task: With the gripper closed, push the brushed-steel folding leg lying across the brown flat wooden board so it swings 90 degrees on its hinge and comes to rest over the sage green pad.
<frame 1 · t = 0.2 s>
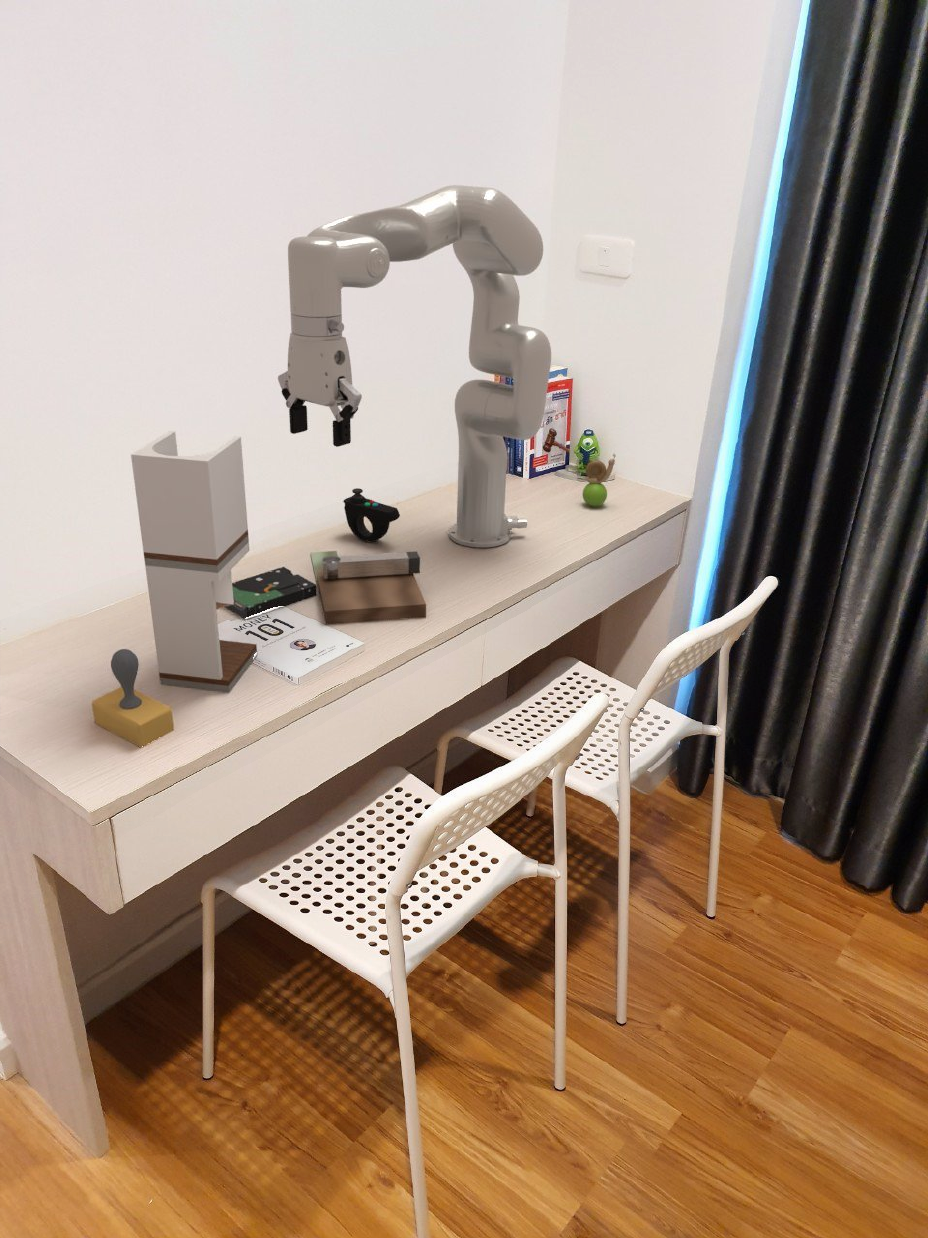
hand: (320, 438, 153), 30 cm above the table, tool pointing down, fingers open, 9 cm apart
brown flat wooden board: (369, 600, 171), on the table
controller: (371, 541, 195), on the table
rubber stamp: (134, 728, 134), on the table
snail figurine: (595, 506, 217), on the table
disk drive: (266, 601, 171), on the table
folding leg: (371, 565, 173), point 5 cm above the table, hinge at 0.0°
gray dispenser tower: (210, 670, 148), on the table
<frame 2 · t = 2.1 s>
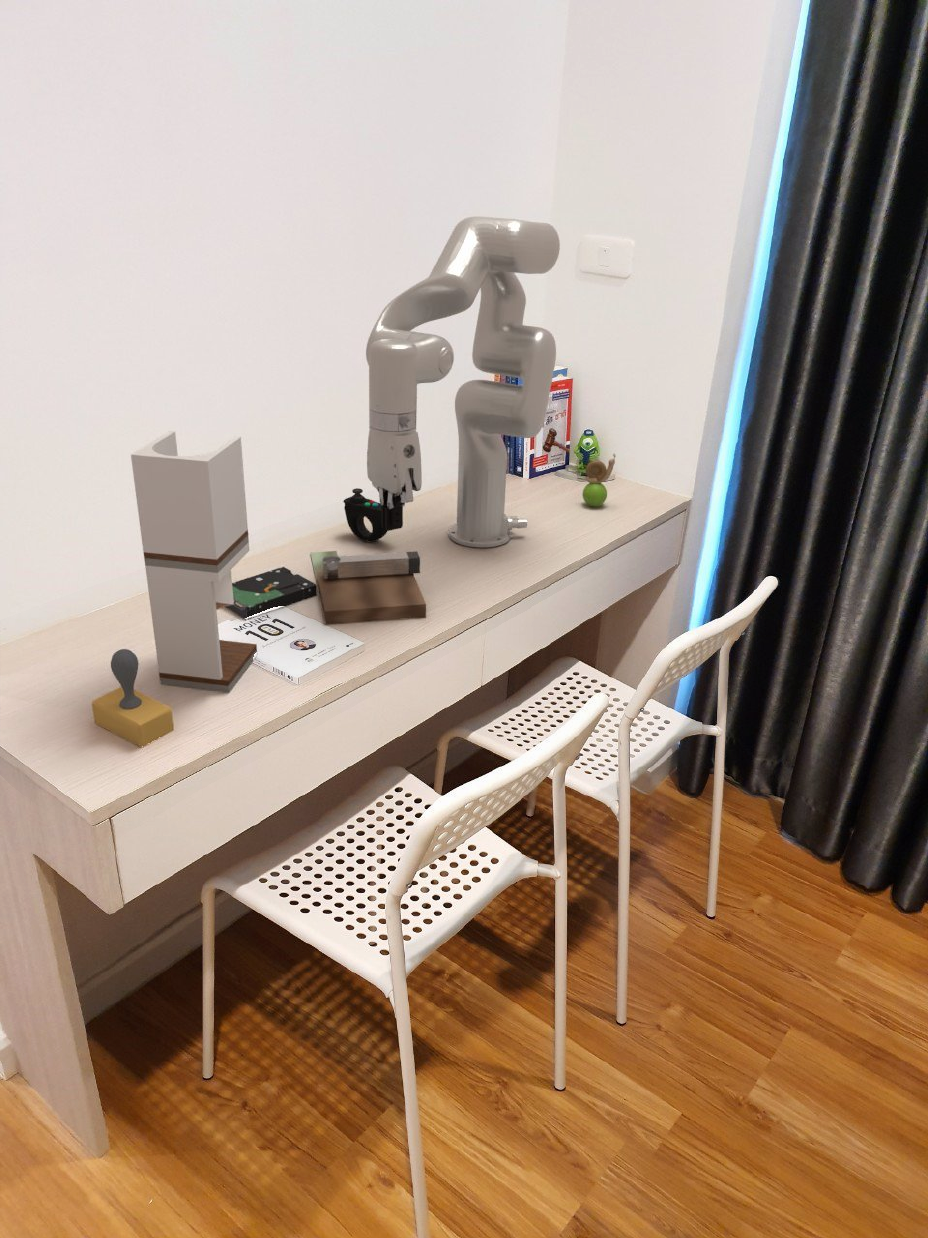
hand: (392, 527, 163), 14 cm above the table, tool pointing down, fingers closed
nothing on the table moved.
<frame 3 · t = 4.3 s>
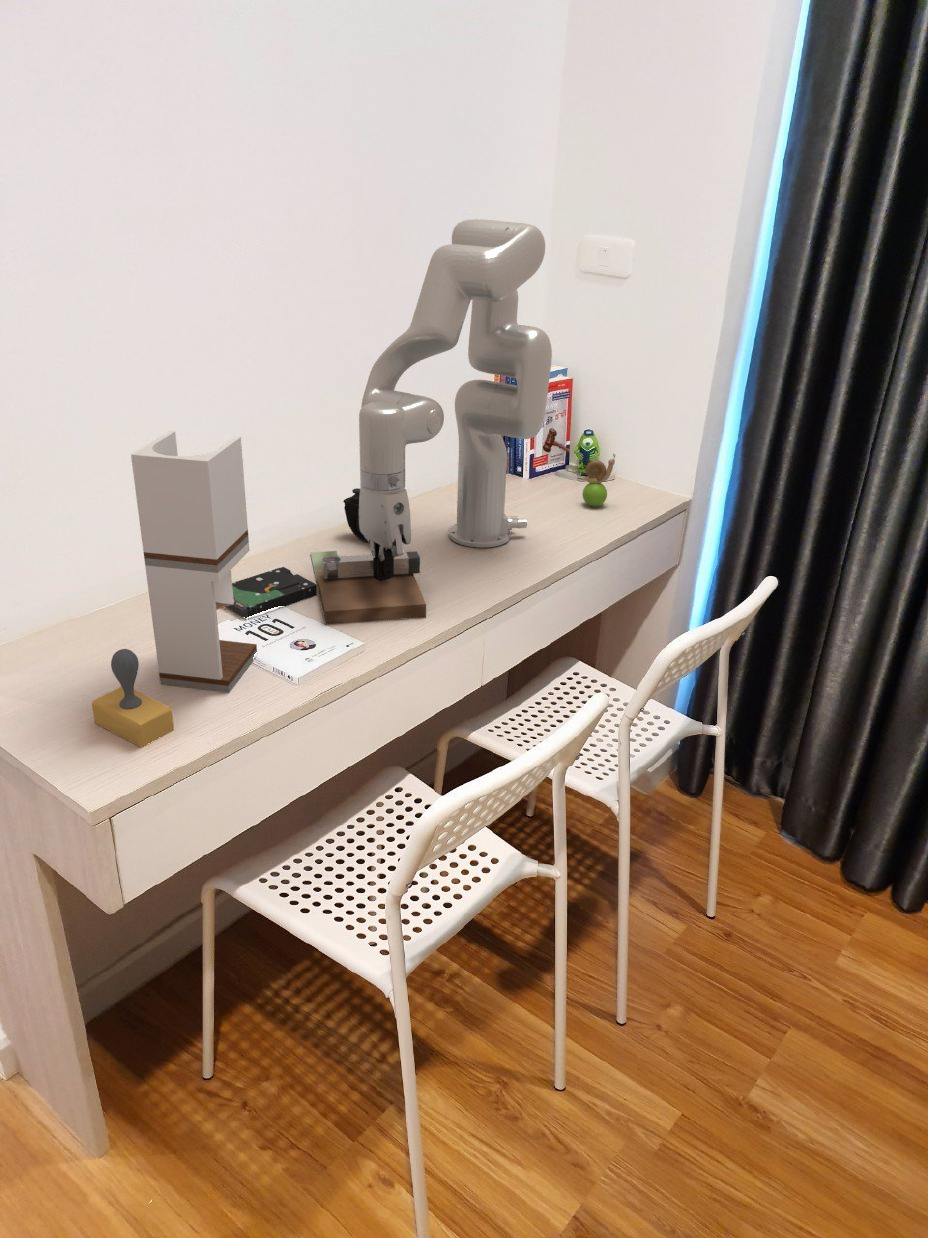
hand: (383, 577, 171), 3 cm above the table, tool pointing down, fingers closed
folding leg: (371, 565, 173), point 5 cm above the table, hinge at 0.0°, touching gripper
everything else where it was.
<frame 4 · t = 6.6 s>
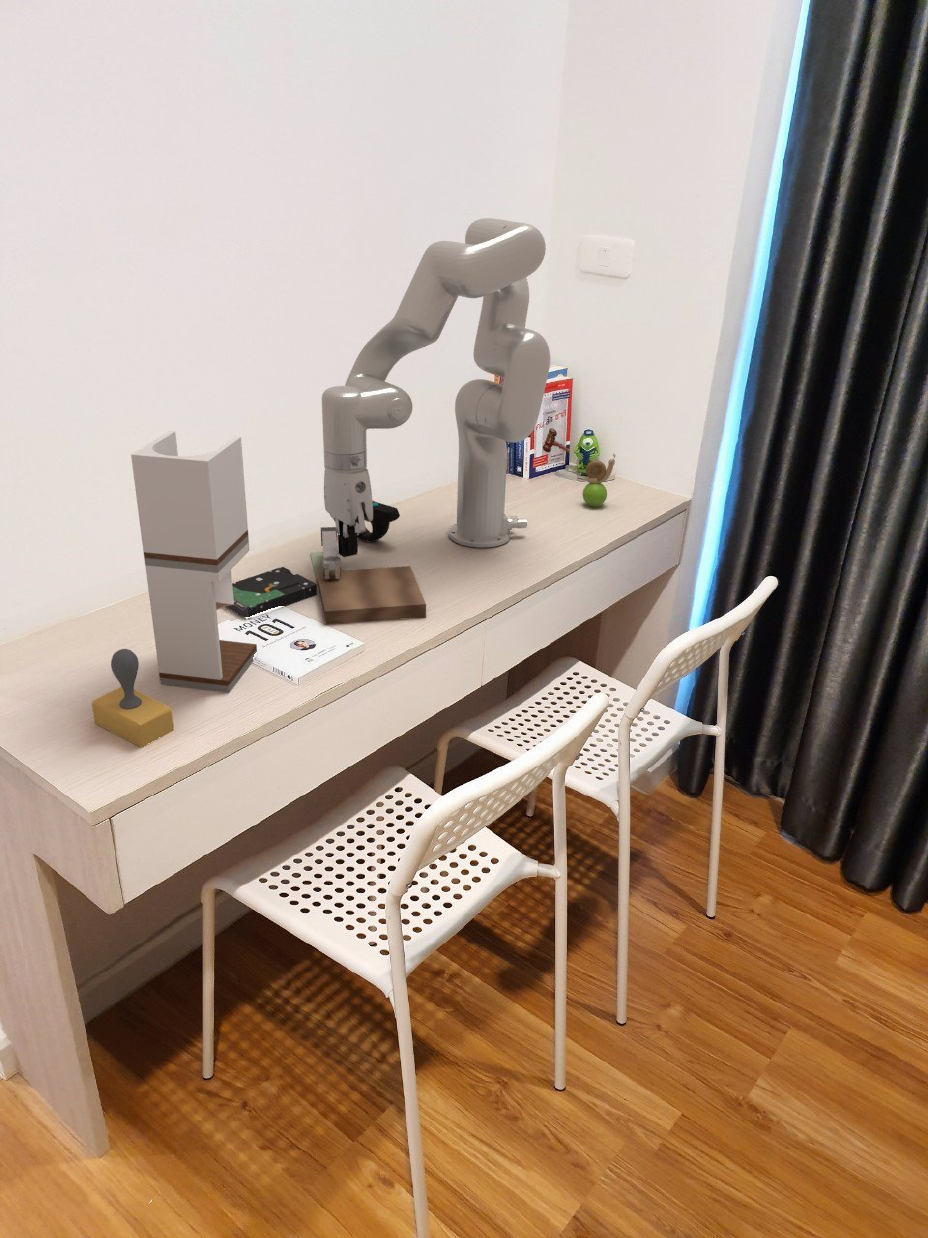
hand: (348, 554, 180), 3 cm above the table, tool pointing down, fingers closed
folding leg: (330, 552, 178), point 5 cm above the table, hinge at 86.4°, touching gripper
everything else where it was.
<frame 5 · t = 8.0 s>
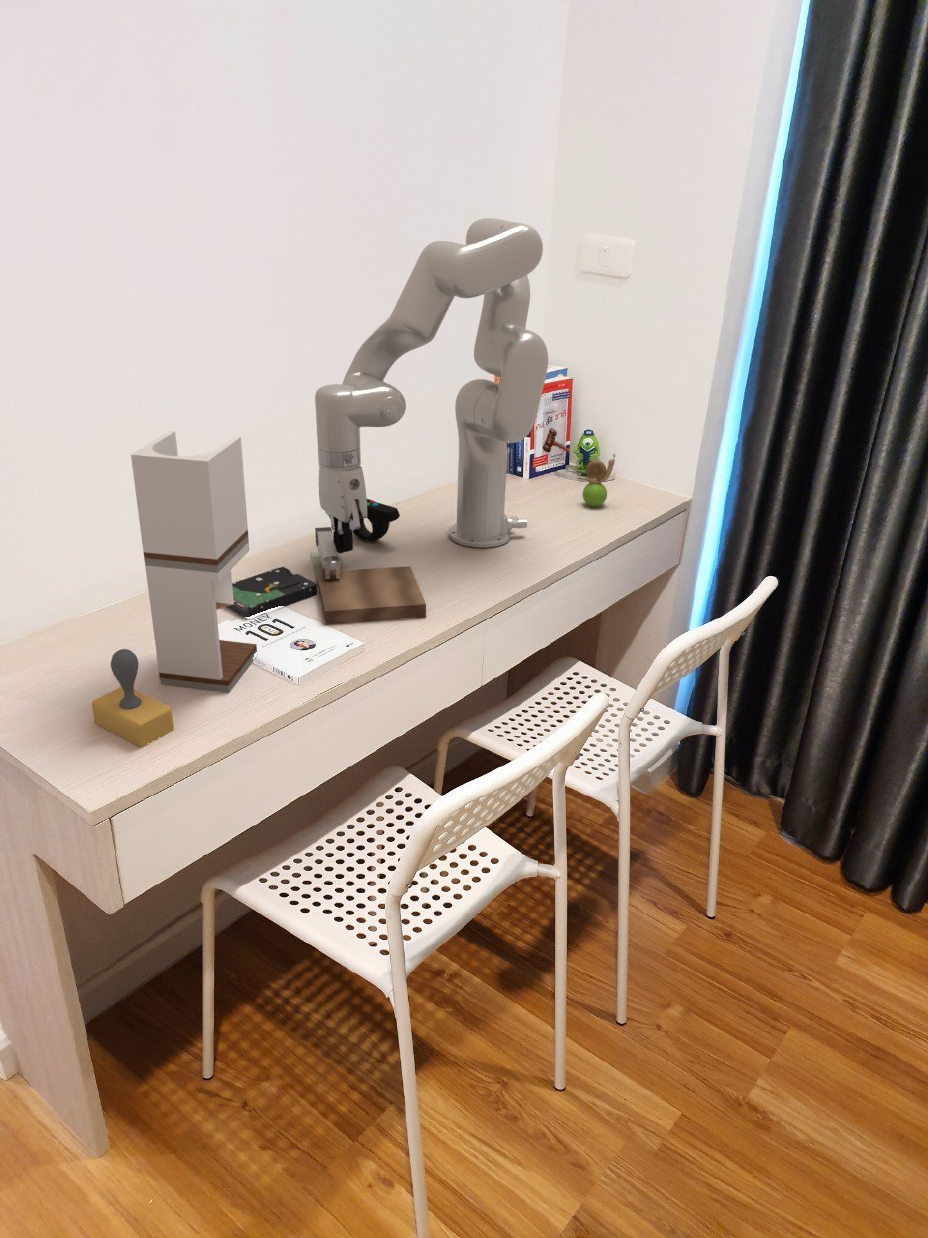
hand: (343, 550, 182), 3 cm above the table, tool pointing down, fingers closed
folding leg: (327, 552, 178), point 5 cm above the table, hinge at 90.2°, touching gripper
everything else where it was.
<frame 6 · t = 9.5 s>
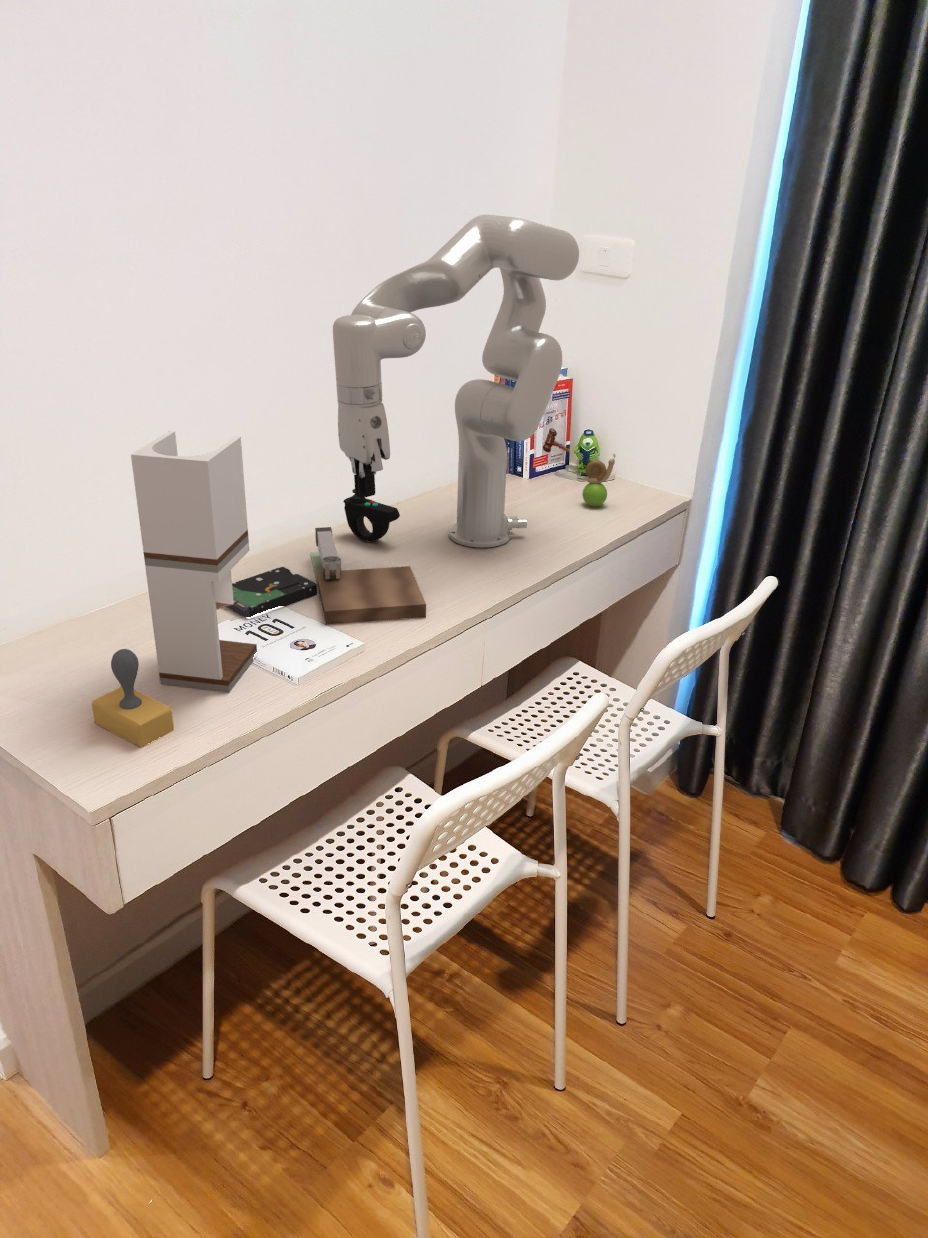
hand: (365, 495, 172), 16 cm above the table, tool pointing down, fingers closed
folding leg: (327, 552, 178), point 5 cm above the table, hinge at 90.2°
everything else where it was.
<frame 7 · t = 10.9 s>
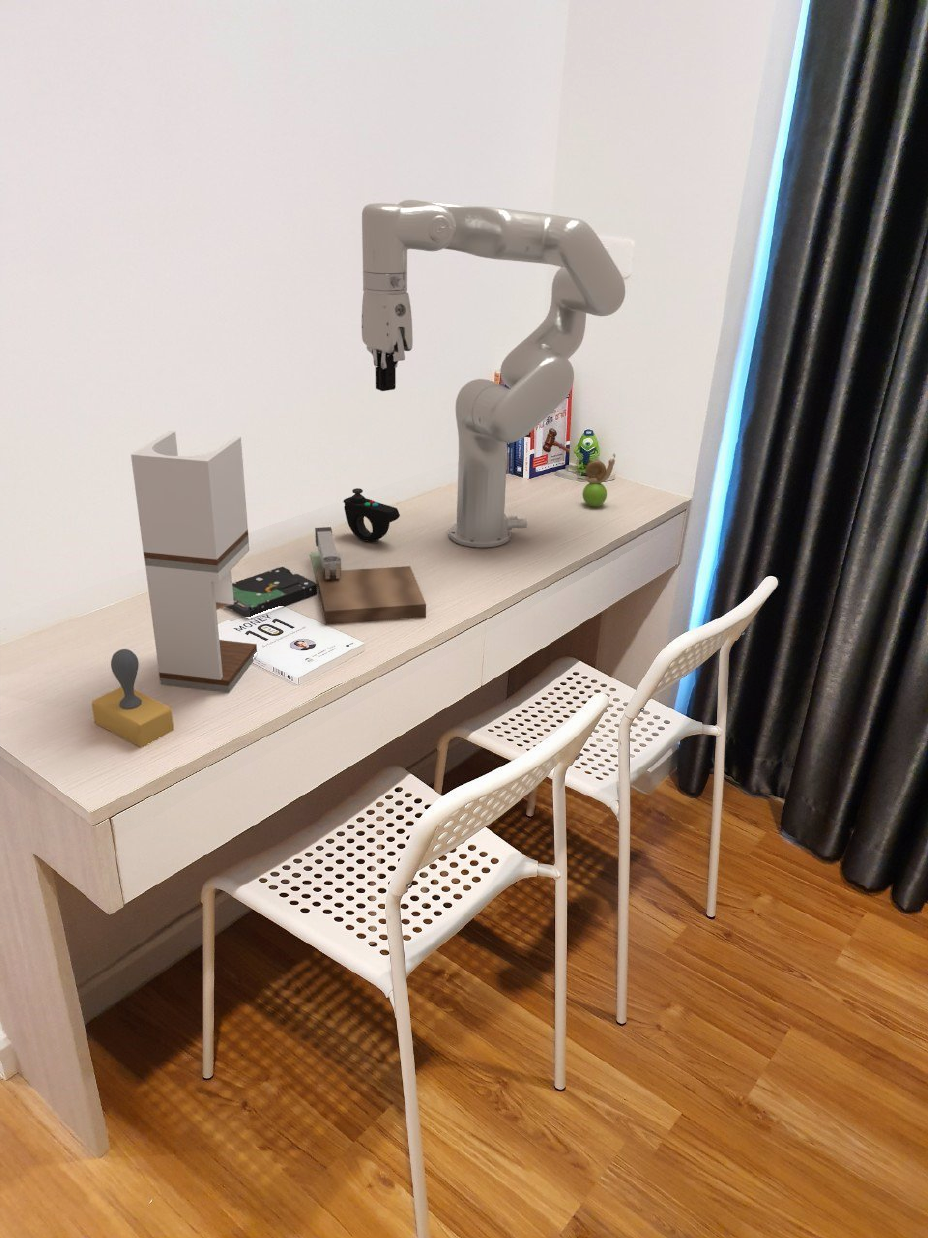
hand: (385, 389, 175), 32 cm above the table, tool pointing down, fingers closed
nothing on the table moved.
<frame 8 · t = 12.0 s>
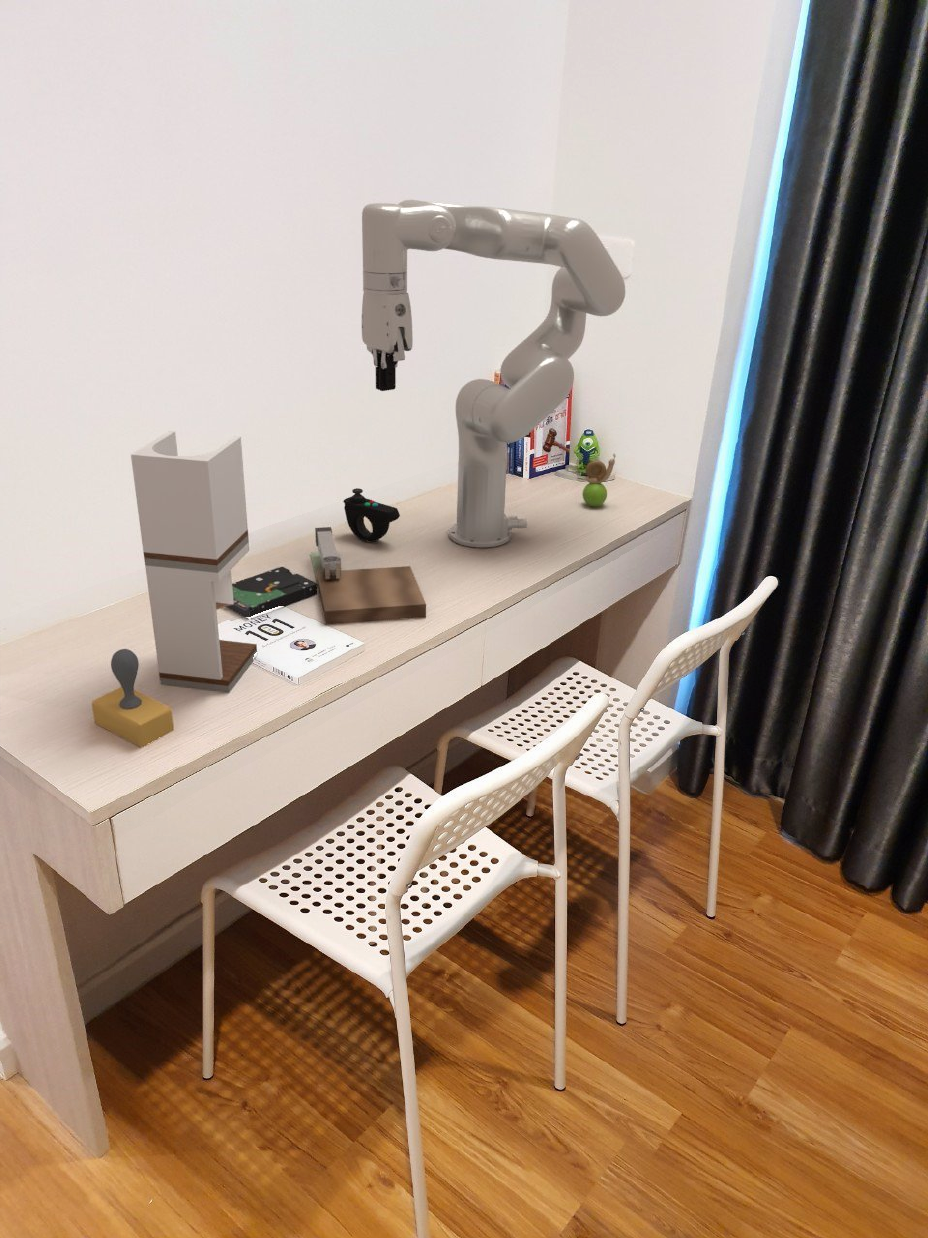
hand: (385, 388, 175), 32 cm above the table, tool pointing down, fingers closed
nothing on the table moved.
at the end: folding leg at +90° (first picture: +0°) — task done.
